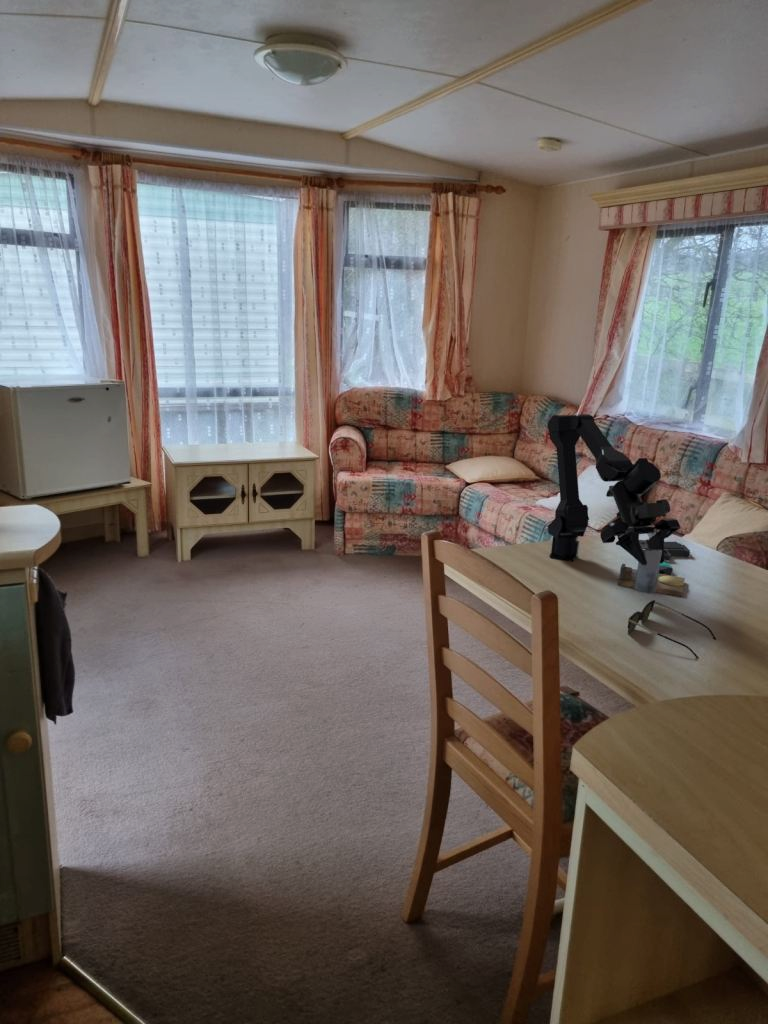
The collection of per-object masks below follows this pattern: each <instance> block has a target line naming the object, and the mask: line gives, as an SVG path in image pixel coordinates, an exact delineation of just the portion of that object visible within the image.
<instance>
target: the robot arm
mask: <svg viewBox="0 0 768 1024" xmlns="http://www.w3.org/2000/svg"><path fill="white" fill-rule="evenodd" d="M547 430H548V436H549V439H550V441H551V442H552V444H553V446H554V447H555V448H556V459H557V471H558V473H557V474H558V485H559V487H558V488H559V499H560V500H559V502H558V505H557V506H556V509H555V512H554V513H555V514H554V519H553V520H552V521H551V522H549V524H548V525H547V533H548V535H550V536H552V541H551V542H552V543H551V550H550V551H551V552H550V554H549V558H552V557H553V559H558V558H559V559H558V560H564V559H566V560H565V561H569V560H573V561H574V560H575V559H576V558H577V557H578V555H579V549H580V540H578V538H579V537H584V535H585V532H586V530H587V528H588V526H589V521H590V518H589V512H588V511H589V507H588V505H587V504H583V503H582V501H581V500H580V493H579V480H578V467H577V466H578V464H577V452H576V446H577V444H578V441H579V440H580V438H581V439H582V441H583V442H584V444H585V445H586V447H587V449H588V450H589V452H591V454H592V456H593V458H594V459H595V461H596V462H595V469H596V471H597V473H598V476H599V477H600V480H602V481H603V482H605V483H606V482H616V483H615V484H614V485H609V487H608V489H607V491H606V495H605V496H606V497H607V498H608V497H609V498H610V497H611V498H612V497H613V499H614V501H615V505H616V507H617V509H618V512H616V513H615V515H616V517H617V519H619V518H621V520H622V521H611V522H610V523H609V524H608V525H607V526H605V527H604V528H603V529H602V530H601V531H600V540H601V542H602V543H603V544H610V543H614V542H615V540H616V537H617V541H616V542H615V545H616V546H619V547H621V548H622V549H623V550H625V552H626V553H628V554H629V555H631V556H632V557H633V558H634V559H635V560H636V561H638V563H639V562H640V563H641V564H642V565H645V564H646V560H645V556H644V554H643V551H642V548H641V546H640V543H639V540H640V535H645V534H647V537H648V538H647V539H648V540H647V541H646V542H647V544H648V546H654V547H658V548H660V549H662V554H661V560H660V564H661V563H663V562H664V542H665V539H668V538H669V537H670V536H672V535H674V534H675V533H676V532H677V531H678V530H680V529H681V525H680V523H679V520H678V519H676V518H674V517H673V518H671V517H670V518H662V519H660V520H659V521H658V522H657V523H655V524H652V523H654V522H656V521H657V518H660V517H667V513H668V514H669V513H670V511H671V505H670V503H669V501H668V499H667V498H666V499H665V498H664V499H661V498H660V499H659V500H658V499H657V500H656V501H655V502H650V503H649V502H647V501H643V500H642V498H641V496H640V495H644V494H645V493H646V492H648V491H649V490H650V489H651V488H652V487H653V486H654V485H655V484H656V483H657V482H659V481H660V480H661V476H662V475H661V474H662V473H661V470H660V469H659V468H658V467H657V466H656V465H655V464H654V463H652V462H651V461H650V462H649V460H648V458H647V457H639V458H638V459H637V460H636V461H635V462H634V463H633V462H632V460H631V459H630V458H629V457H627V455H626V454H624V453H623V452H621V451H620V450H617V449H615V447H613V446H612V444H611V443H610V441H609V440H608V439H607V437H606V436H605V435H604V433H603V432H602V430H601V429H600V428H599V426H598V425H597V423H596V422H595V418H594V416H593V415H591V414H586V413H585V414H583V413H581V414H580V413H579V414H577V413H576V414H553V415H552V416H551V417H550V419H549V420H548V421H547ZM574 558H575V559H574Z"/></svg>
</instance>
